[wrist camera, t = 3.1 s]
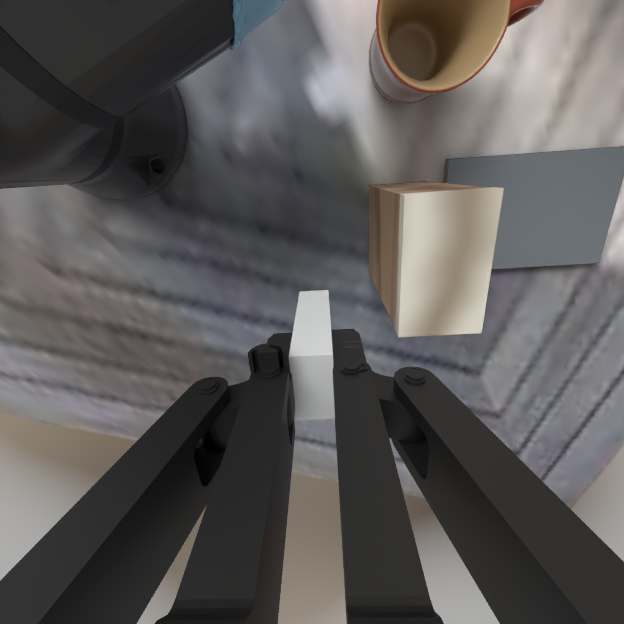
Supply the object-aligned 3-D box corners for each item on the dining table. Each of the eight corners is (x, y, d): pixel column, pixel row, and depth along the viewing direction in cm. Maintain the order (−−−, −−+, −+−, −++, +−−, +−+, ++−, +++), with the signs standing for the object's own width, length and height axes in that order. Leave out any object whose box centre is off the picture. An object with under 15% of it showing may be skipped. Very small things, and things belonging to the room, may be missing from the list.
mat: (436, 270, 39) (438, 272, 38) (446, 159, 34) (449, 159, 33) (593, 261, 38) (598, 262, 37) (625, 146, 33) (632, 145, 33)
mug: (367, 125, 33) (387, 107, 24) (351, 19, 30) (365, -51, 20) (490, 91, 32) (562, 58, 22) (486, -25, 28) (570, -121, 19)
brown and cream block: (368, 274, 39) (398, 337, 25) (368, 184, 35) (404, 195, 21) (419, 271, 39) (481, 333, 24) (425, 180, 35) (503, 188, 20)
